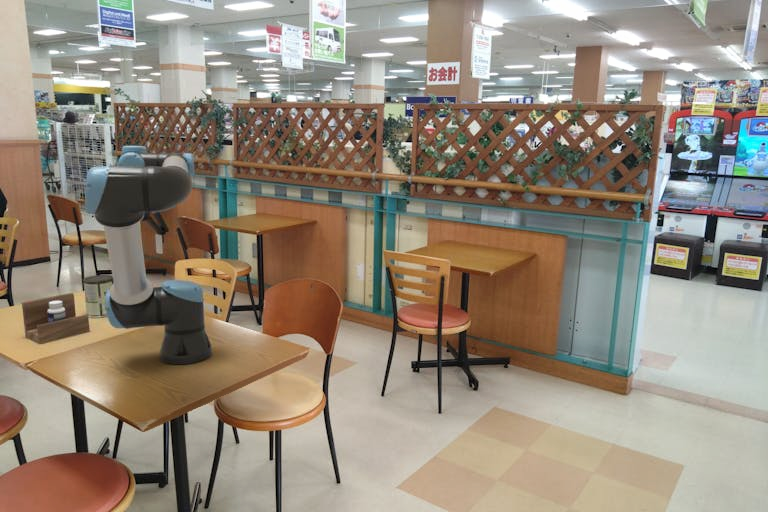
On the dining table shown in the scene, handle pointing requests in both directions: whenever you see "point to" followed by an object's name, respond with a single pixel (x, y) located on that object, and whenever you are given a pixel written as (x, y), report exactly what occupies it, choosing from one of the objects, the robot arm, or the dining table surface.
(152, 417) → the dining table surface
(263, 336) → the dining table surface
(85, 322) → the wooden display stand
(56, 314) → the pill bottle
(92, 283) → the coffee can
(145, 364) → the dining table surface
